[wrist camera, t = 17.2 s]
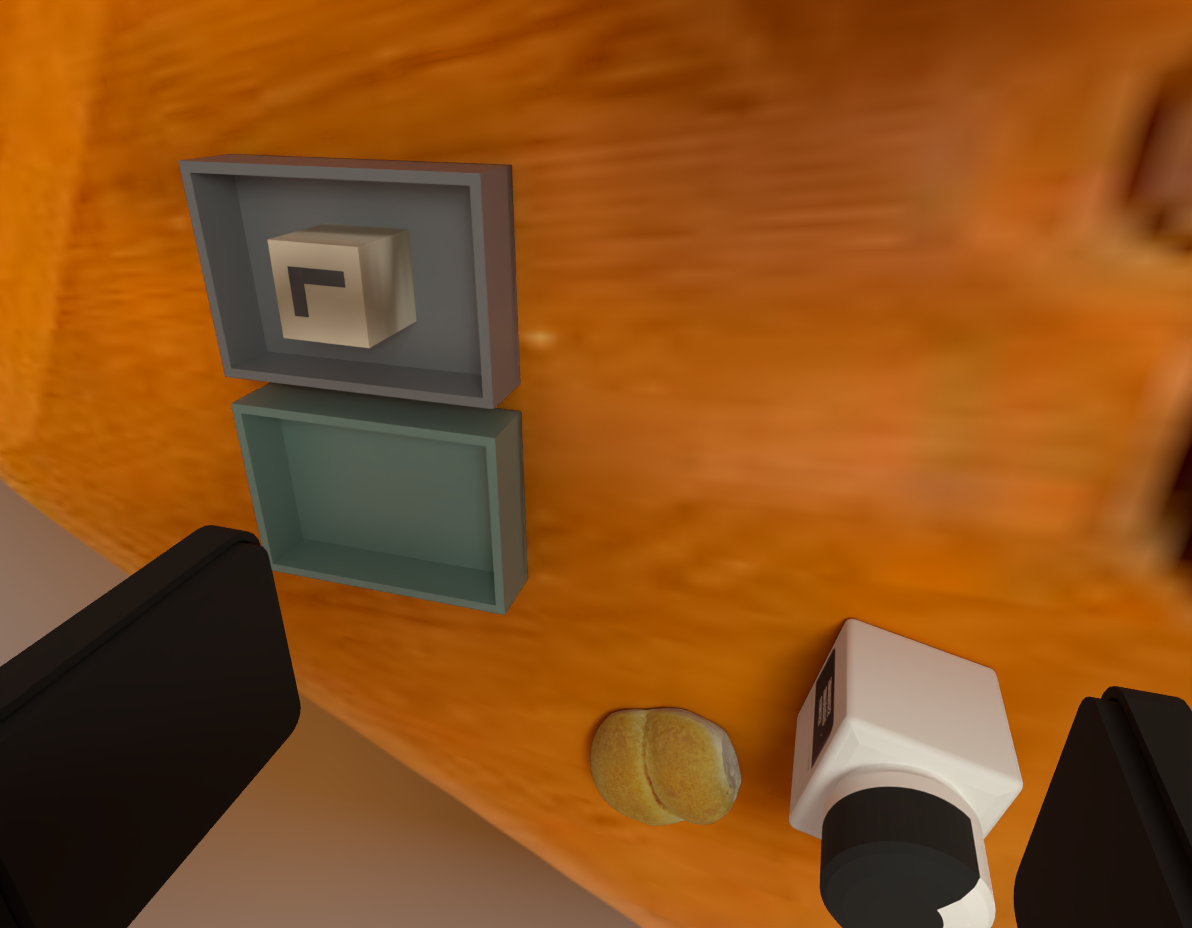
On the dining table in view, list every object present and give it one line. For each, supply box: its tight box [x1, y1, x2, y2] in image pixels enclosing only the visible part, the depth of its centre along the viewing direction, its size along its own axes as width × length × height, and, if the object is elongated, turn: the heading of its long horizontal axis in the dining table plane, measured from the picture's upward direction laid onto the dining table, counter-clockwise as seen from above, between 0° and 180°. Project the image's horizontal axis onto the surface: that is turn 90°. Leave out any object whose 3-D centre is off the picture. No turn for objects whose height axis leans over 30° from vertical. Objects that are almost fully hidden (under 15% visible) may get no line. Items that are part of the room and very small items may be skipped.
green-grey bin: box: [231, 382, 528, 615], centre depth 43 cm, size 10×15×4 cm
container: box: [789, 619, 1023, 928], centre depth 36 cm, size 8×8×13 cm
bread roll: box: [590, 708, 742, 826], centre depth 47 cm, size 8×9×4 cm
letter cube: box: [268, 223, 417, 348], centre depth 37 cm, size 4×5×5 cm
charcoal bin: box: [179, 154, 520, 409], centre depth 38 cm, size 10×15×4 cm
